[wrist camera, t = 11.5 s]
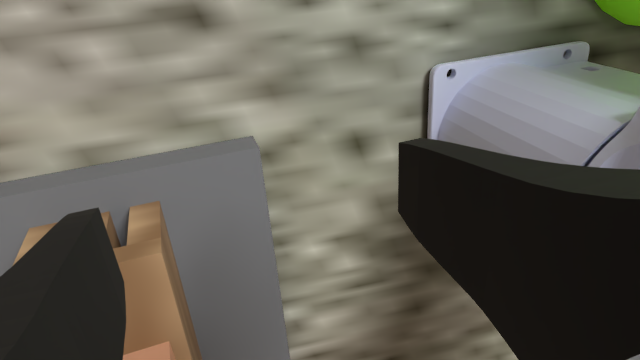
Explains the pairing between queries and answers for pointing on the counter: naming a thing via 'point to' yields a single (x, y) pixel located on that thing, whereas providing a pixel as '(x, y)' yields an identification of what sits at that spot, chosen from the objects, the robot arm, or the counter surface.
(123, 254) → the pallet
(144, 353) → the terracotta crate
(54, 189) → the dock
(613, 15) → the wineglass
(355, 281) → the counter surface
